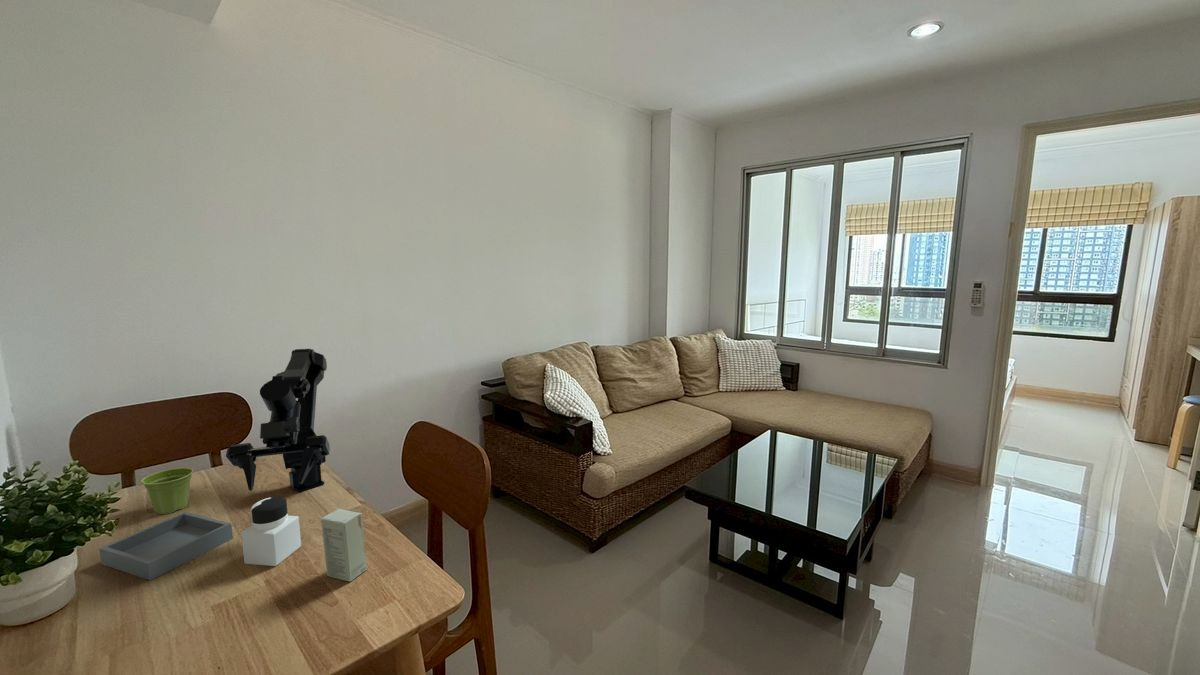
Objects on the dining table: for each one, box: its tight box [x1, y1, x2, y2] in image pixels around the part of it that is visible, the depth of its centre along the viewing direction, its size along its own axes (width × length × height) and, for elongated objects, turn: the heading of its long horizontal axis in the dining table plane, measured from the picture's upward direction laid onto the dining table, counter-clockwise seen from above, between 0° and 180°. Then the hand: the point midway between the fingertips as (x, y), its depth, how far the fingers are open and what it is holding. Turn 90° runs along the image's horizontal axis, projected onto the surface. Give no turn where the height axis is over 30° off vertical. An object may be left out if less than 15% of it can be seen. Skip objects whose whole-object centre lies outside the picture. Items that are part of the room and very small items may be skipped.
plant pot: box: [140, 467, 194, 515], centre depth 115 cm, size 9×9×9 cm
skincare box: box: [320, 507, 368, 582], centre depth 91 cm, size 6×4×12 cm
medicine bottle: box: [240, 496, 302, 567], centre depth 96 cm, size 7×7×12 cm
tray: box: [99, 511, 234, 581], centre depth 98 cm, size 15×15×4 cm
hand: (275, 486), depth 101 cm, fingers open, 9 cm apart
